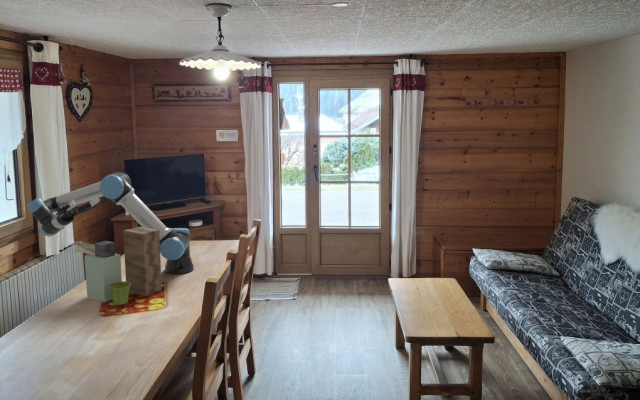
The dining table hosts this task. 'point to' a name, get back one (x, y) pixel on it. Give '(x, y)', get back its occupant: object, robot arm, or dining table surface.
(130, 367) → the dining table surface
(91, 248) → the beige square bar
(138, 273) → the stand tall
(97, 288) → the pale green block
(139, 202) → the robot arm
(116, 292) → the plant pot
